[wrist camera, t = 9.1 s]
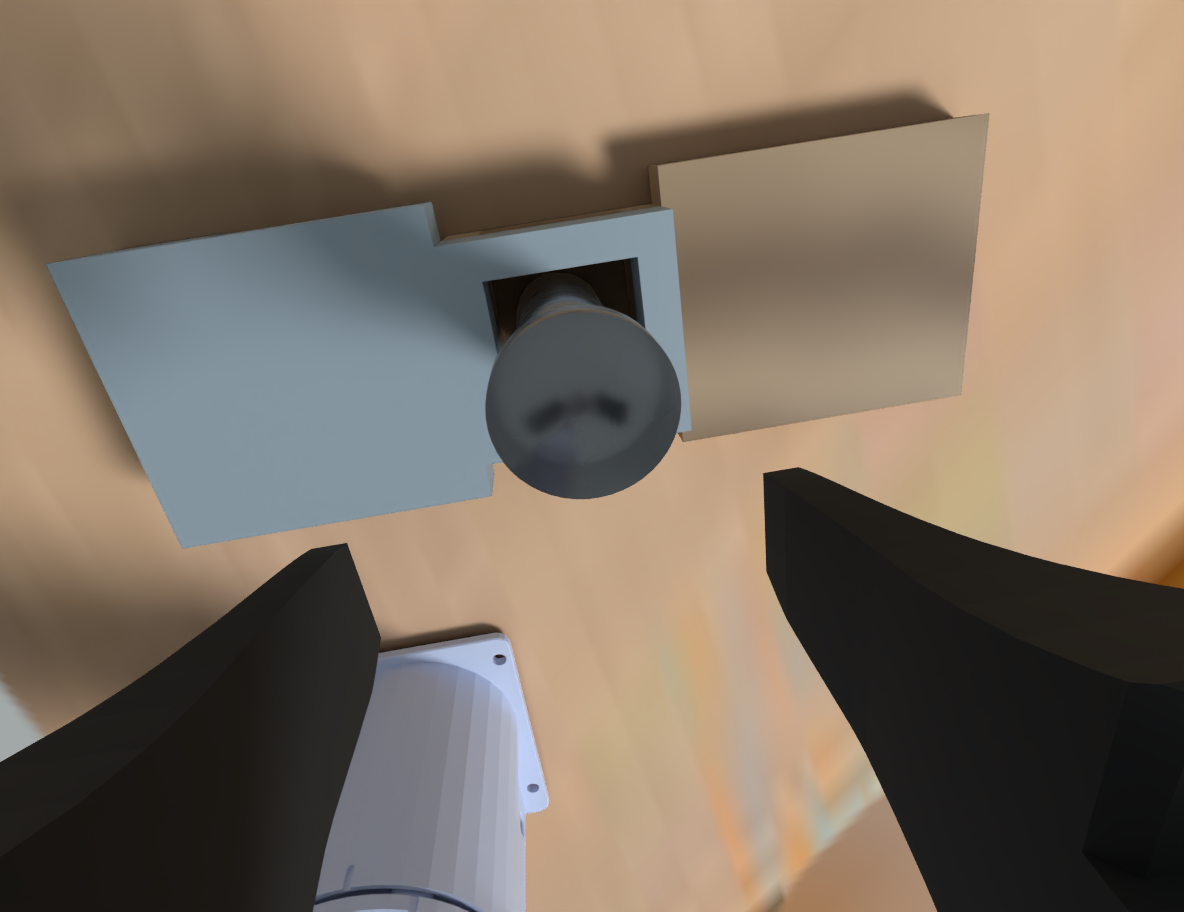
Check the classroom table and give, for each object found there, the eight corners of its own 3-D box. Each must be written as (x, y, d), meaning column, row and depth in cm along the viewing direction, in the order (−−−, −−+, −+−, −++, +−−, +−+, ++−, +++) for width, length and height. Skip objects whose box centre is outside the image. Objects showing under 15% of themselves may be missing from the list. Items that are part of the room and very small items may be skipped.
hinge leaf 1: (673, 425, 22) (694, 461, 19) (226, 500, 21) (182, 548, 19) (647, 166, 18) (669, 165, 16) (118, 250, 18) (45, 263, 15)
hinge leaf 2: (934, 380, 22) (961, 394, 20) (496, 454, 22) (494, 473, 20) (955, 117, 19) (989, 113, 17) (438, 199, 18) (431, 201, 17)
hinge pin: (625, 360, 21) (690, 479, 13) (514, 381, 21) (508, 514, 13) (608, 244, 19) (669, 295, 11) (488, 266, 19) (463, 333, 11)
